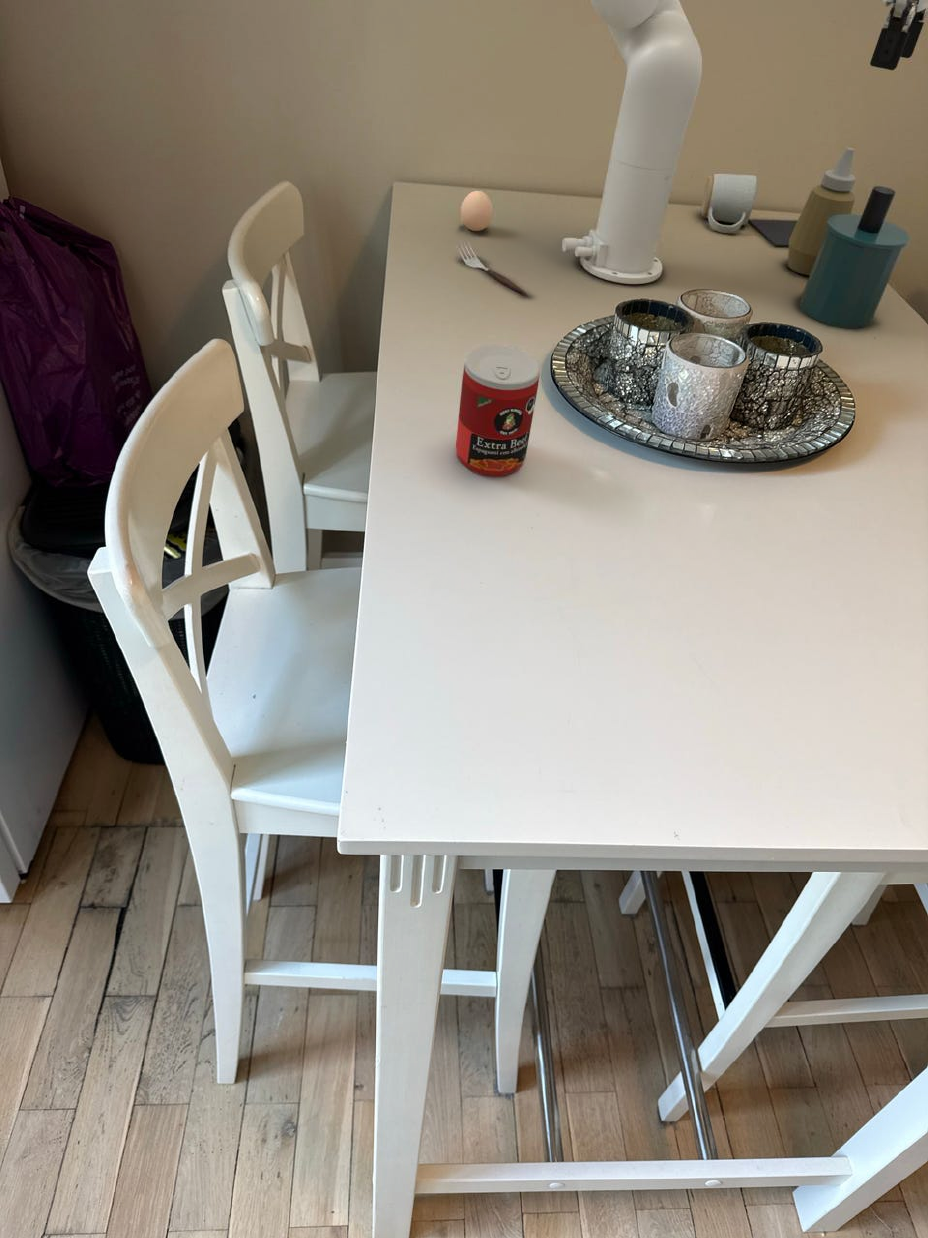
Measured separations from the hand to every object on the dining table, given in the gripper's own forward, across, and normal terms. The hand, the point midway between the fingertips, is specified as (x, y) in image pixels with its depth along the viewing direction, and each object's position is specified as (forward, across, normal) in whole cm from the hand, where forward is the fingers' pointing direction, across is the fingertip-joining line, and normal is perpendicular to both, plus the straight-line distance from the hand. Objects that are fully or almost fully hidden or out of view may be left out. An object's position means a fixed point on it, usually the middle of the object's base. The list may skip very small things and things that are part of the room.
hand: (890, 61), depth 114 cm
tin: (+31, +4, +5) cm, 32 cm away
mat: (+31, -23, -10) cm, 40 cm away
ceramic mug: (+31, -19, -20) cm, 42 cm away
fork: (+31, +29, -39) cm, 58 cm away
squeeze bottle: (+31, -10, -3) cm, 33 cm away
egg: (+30, +16, -50) cm, 61 cm away
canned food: (+30, +70, -16) cm, 78 cm away
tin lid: (+19, +3, +5) cm, 20 cm away
